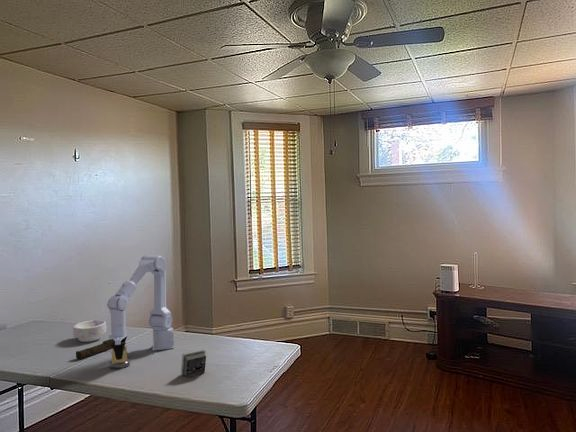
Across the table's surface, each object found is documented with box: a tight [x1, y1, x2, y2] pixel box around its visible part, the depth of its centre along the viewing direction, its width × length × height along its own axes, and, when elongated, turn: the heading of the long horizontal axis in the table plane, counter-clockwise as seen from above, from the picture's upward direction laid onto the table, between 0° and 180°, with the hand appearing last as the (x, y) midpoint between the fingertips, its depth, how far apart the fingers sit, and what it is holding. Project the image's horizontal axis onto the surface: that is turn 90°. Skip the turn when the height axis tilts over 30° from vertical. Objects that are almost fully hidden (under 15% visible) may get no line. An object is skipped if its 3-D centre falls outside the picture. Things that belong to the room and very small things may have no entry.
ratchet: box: [109, 358, 130, 371], centre depth 187 cm, size 20×8×5 cm, turn 17°
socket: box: [111, 345, 128, 364], centre depth 181 cm, size 6×6×6 cm
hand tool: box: [75, 338, 114, 361], centre depth 197 cm, size 19×4×5 cm, turn 145°
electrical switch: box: [180, 348, 207, 378], centre depth 170 cm, size 9×5×9 cm, turn 122°
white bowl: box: [72, 319, 107, 343], centre depth 219 cm, size 15×15×8 cm
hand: (119, 356), depth 181 cm, fingers open, 6 cm apart
